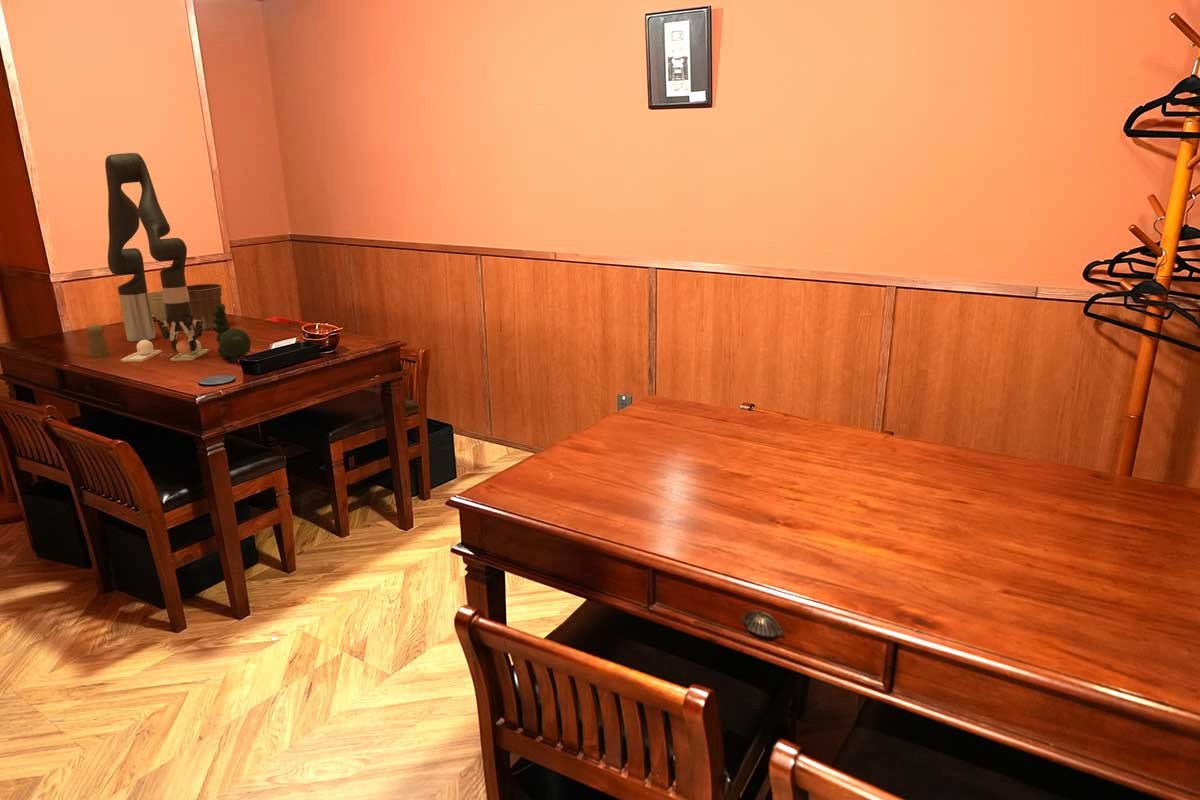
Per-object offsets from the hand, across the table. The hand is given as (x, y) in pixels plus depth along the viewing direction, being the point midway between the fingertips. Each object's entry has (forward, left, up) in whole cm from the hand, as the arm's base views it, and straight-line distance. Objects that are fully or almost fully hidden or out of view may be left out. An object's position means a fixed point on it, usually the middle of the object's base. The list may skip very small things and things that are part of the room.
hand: (185, 350), depth 269 cm
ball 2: (0, 0, -1) cm, 1 cm away
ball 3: (-6, 0, -2) cm, 6 cm away
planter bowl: (-72, -39, -3) cm, 82 cm away
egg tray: (-3, -16, -3) cm, 17 cm away
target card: (-3, -8, -3) cm, 9 cm away
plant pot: (-53, -16, -3) cm, 55 cm away
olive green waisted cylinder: (-5, -31, -3) cm, 32 cm away
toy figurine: (+1, +16, -3) cm, 16 cm away
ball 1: (-6, -16, -2) cm, 17 cm away
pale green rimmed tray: (-3, 0, -3) cm, 4 cm away
